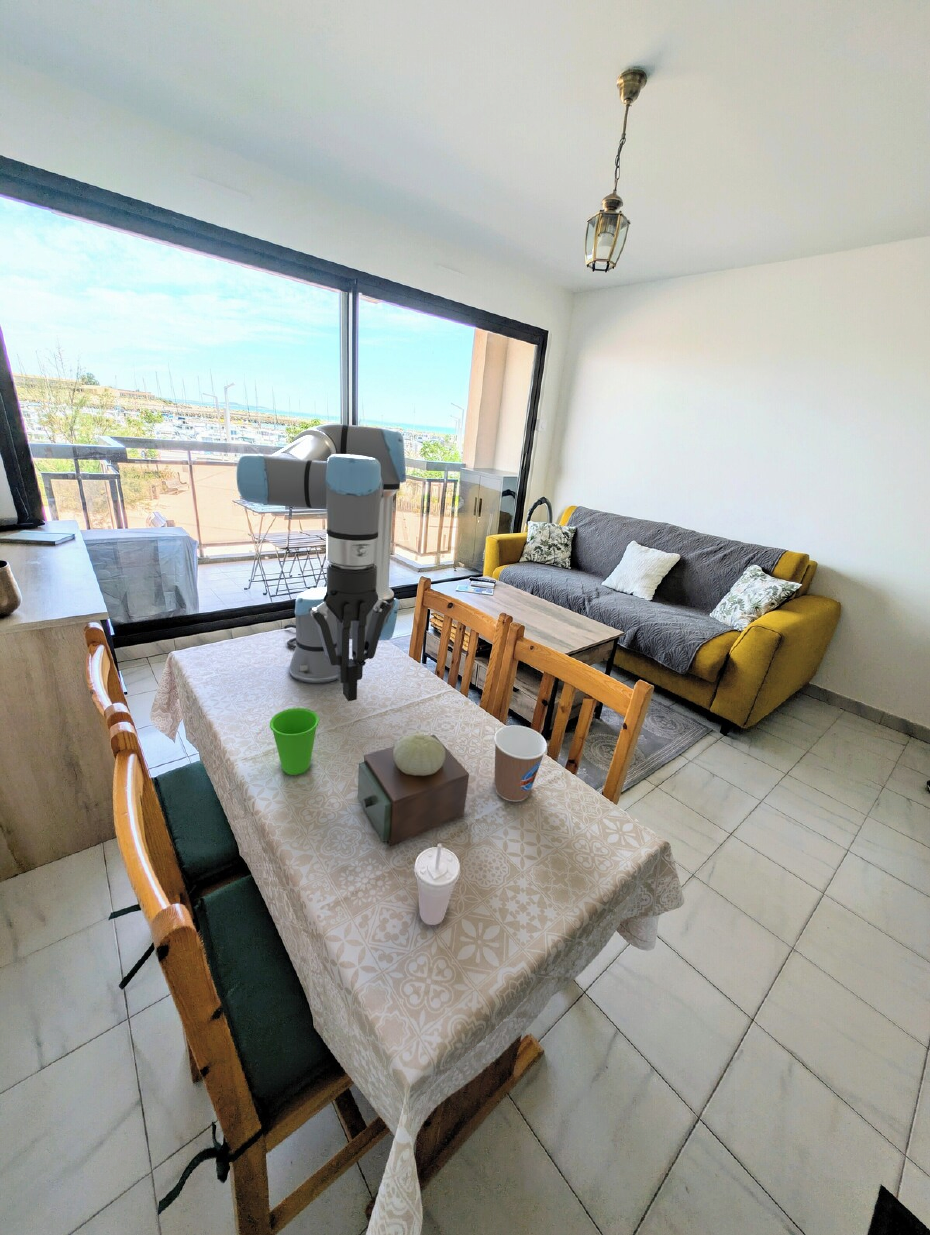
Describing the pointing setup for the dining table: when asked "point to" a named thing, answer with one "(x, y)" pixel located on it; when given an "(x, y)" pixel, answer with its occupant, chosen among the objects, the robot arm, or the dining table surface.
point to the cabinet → (419, 794)
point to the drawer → (374, 801)
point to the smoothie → (435, 882)
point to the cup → (295, 738)
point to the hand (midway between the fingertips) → (349, 696)
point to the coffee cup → (517, 761)
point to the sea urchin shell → (419, 754)
